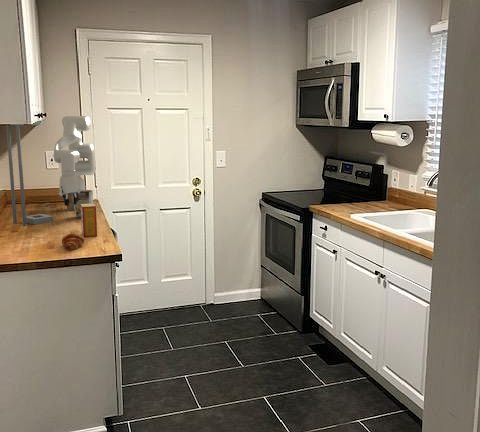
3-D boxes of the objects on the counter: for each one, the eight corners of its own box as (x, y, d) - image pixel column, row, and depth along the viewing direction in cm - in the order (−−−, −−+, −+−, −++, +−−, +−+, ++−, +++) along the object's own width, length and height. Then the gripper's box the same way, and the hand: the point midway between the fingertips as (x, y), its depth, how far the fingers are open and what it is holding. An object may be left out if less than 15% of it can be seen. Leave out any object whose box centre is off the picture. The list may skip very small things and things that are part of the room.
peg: (71, 209, 308) (70, 192, 306) (75, 210, 306) (74, 193, 304) (65, 210, 305) (64, 193, 303) (69, 211, 303) (68, 194, 300)
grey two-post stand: (35, 219, 309) (28, 120, 298) (46, 222, 302) (40, 121, 291) (12, 223, 298) (4, 120, 287) (23, 226, 291) (16, 121, 280)
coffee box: (75, 217, 316) (73, 191, 313) (79, 215, 322) (78, 189, 319) (90, 218, 315) (88, 191, 312) (94, 216, 322) (92, 189, 319)
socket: (41, 218, 312) (41, 213, 311) (53, 221, 305) (53, 216, 304) (22, 221, 302) (22, 216, 302) (34, 224, 295) (33, 219, 295)
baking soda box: (81, 233, 273) (80, 203, 270) (94, 232, 275) (93, 202, 272) (83, 237, 264) (82, 206, 261) (97, 236, 267) (95, 205, 264)
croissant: (70, 248, 257) (61, 234, 255) (88, 238, 258) (80, 224, 256) (63, 258, 236) (54, 243, 235) (83, 248, 237) (74, 232, 235)
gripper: (77, 171, 309) (78, 202, 313) (51, 174, 297) (53, 206, 300) (84, 172, 305) (86, 203, 309) (59, 175, 292) (61, 207, 296)
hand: (70, 204), depth 305 cm, fingers closed on peg, 4 cm apart
